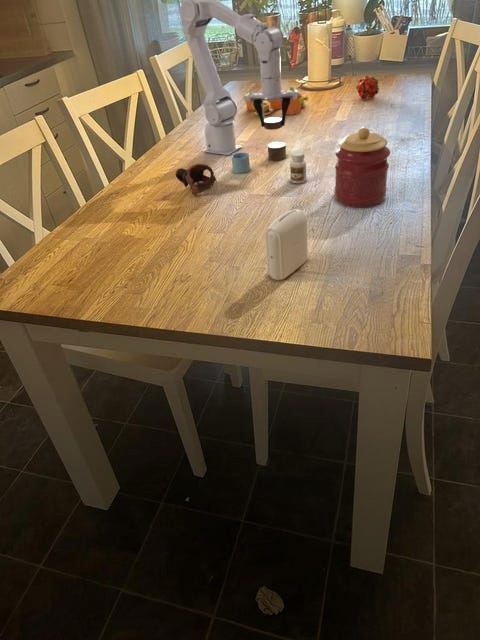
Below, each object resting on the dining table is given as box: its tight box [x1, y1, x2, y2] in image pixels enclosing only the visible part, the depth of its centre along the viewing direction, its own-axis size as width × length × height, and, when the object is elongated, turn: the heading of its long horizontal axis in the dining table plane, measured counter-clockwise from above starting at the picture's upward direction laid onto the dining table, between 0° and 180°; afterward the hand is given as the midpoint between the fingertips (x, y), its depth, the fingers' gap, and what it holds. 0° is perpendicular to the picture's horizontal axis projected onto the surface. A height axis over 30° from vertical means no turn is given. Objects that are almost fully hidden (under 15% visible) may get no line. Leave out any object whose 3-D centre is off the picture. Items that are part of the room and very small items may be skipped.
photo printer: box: [265, 208, 309, 281], centre depth 100 cm, size 10×4×12 cm, turn 140°
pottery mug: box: [175, 163, 217, 197], centre depth 140 cm, size 12×10×8 cm
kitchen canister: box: [334, 126, 391, 208], centre depth 123 cm, size 13×13×18 cm
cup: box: [231, 152, 251, 174], centre depth 149 cm, size 5×5×4 cm
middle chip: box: [267, 141, 287, 154], centre depth 154 cm, size 6×6×2 cm
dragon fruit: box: [355, 75, 380, 100], centre depth 199 cm, size 8×8×12 cm
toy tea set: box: [242, 85, 309, 116], centre depth 195 cm, size 26×16×10 cm, turn 81°
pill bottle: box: [289, 151, 307, 184], centre depth 138 cm, size 4×4×8 cm
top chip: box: [263, 116, 283, 131], centre depth 149 cm, size 6×6×2 cm
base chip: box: [267, 151, 287, 162], centre depth 156 cm, size 6×6×2 cm
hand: (273, 125), depth 150 cm, fingers closed on top chip, 5 cm apart
